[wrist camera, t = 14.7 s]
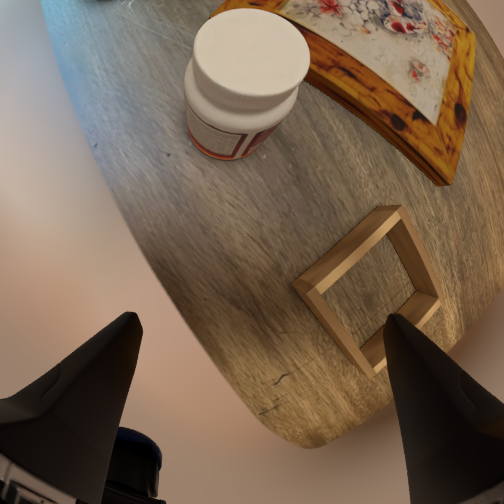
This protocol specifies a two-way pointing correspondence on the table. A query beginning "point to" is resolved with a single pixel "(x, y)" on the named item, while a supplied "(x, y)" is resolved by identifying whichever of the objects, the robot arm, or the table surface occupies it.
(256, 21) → the pill bottle
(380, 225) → the square wooden frame
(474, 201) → the table surface
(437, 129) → the picture frame
